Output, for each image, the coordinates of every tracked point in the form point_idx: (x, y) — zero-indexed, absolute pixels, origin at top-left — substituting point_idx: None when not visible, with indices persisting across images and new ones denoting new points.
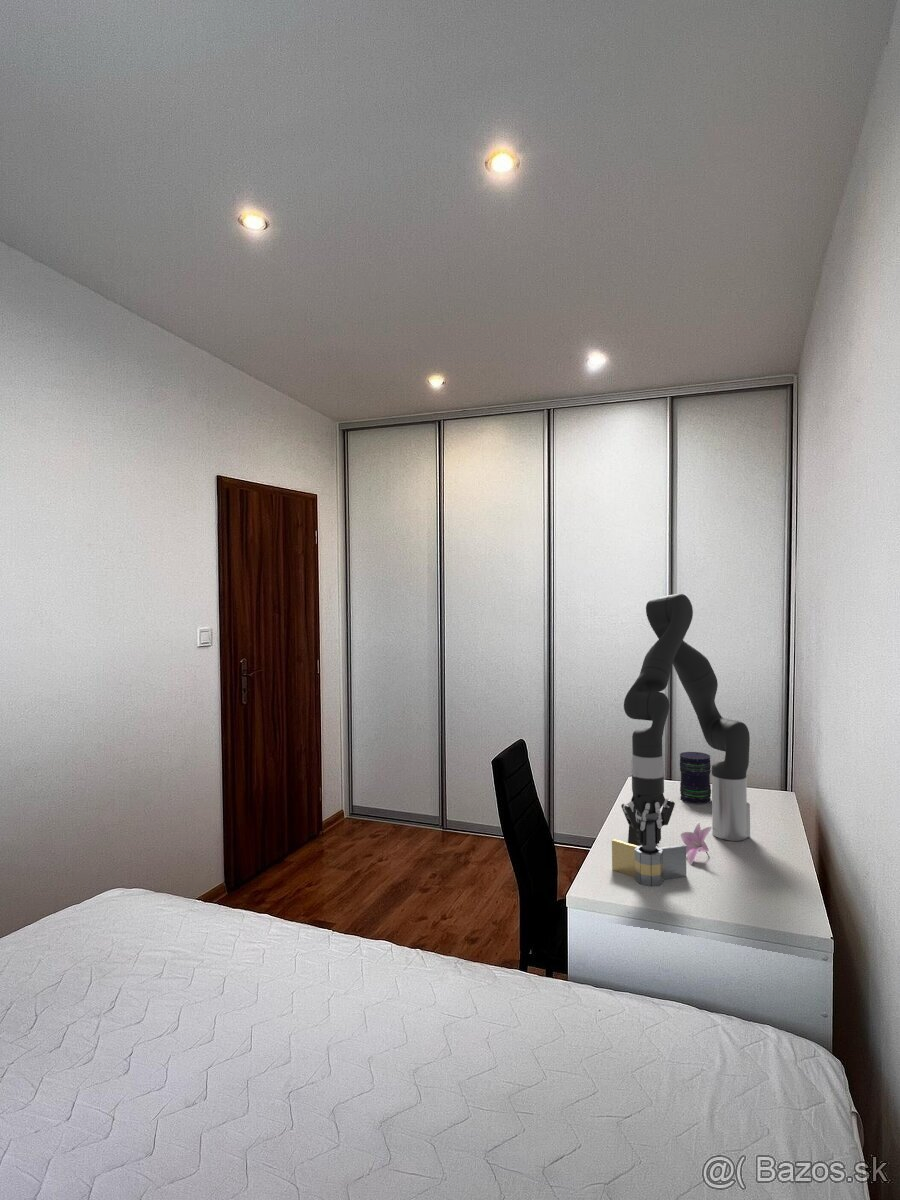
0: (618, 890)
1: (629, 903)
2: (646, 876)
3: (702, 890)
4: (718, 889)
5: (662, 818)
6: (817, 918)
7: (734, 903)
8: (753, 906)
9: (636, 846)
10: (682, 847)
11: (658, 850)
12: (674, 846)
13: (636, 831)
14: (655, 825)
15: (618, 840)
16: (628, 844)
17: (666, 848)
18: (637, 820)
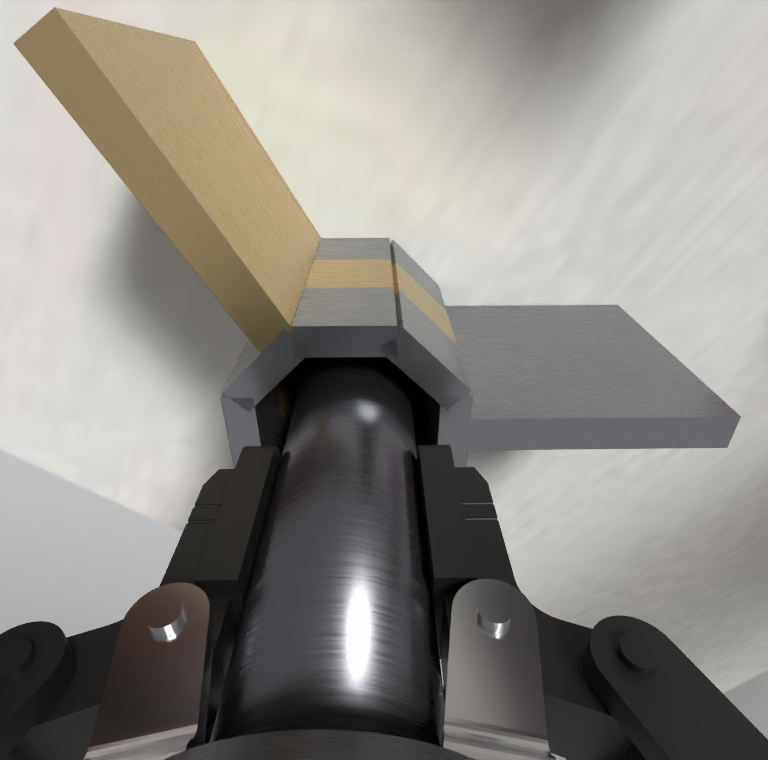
0: (122, 380)
1: (140, 501)
2: None
3: (551, 480)
4: (628, 489)
5: (629, 744)
6: (725, 691)
7: (576, 587)
8: (620, 613)
9: (270, 337)
10: (684, 442)
11: None
12: (623, 433)
13: (169, 565)
14: (446, 665)
15: (113, 87)
16: (203, 261)
17: (523, 448)
18: (121, 736)
